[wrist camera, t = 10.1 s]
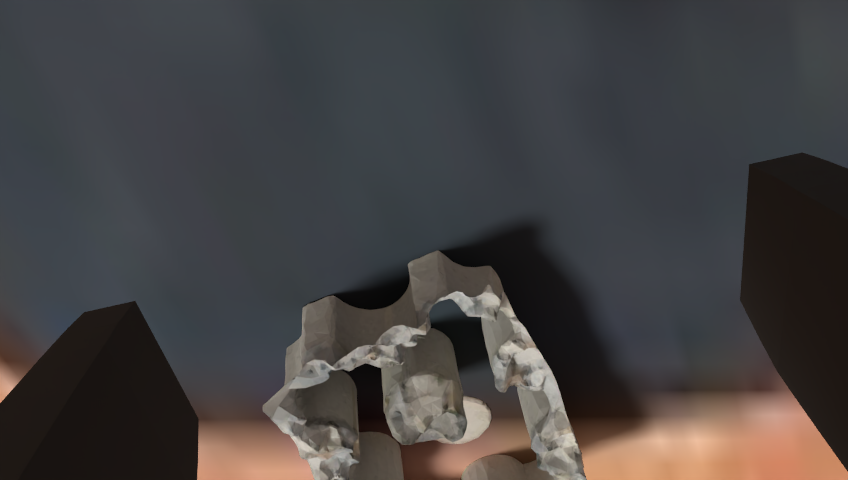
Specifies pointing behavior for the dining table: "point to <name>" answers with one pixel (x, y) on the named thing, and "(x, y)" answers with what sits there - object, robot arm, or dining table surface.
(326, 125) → the dining table surface
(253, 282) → the dining table surface
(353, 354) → the egg carton
